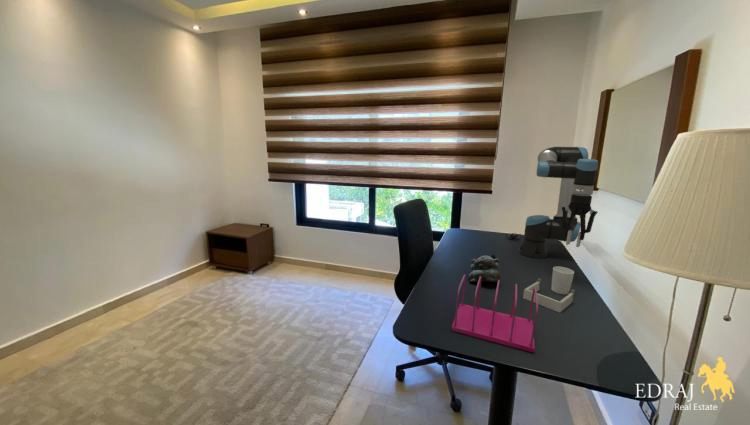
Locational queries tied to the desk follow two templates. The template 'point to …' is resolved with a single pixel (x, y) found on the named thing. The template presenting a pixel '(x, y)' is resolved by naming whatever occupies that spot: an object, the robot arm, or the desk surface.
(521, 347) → the file sorter
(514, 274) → the desk surface
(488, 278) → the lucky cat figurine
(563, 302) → the open u-shaped frame
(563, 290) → the white cup
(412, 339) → the desk surface
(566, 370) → the desk surface
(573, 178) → the robot arm
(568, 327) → the desk surface
